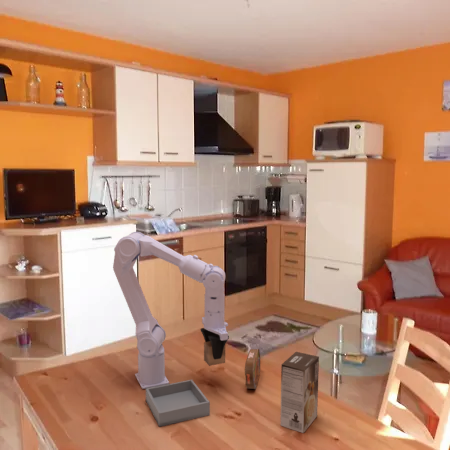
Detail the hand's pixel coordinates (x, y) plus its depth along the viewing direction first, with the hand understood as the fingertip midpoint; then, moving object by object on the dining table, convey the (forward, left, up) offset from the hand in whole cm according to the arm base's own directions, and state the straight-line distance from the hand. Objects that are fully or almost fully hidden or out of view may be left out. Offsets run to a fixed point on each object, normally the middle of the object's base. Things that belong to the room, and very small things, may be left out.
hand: (214, 355), depth 129 cm
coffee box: (+26, +12, -9) cm, 30 cm away
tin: (+3, +11, -9) cm, 15 cm away
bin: (+8, -14, -9) cm, 18 cm away
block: (0, 0, -2) cm, 2 cm away
